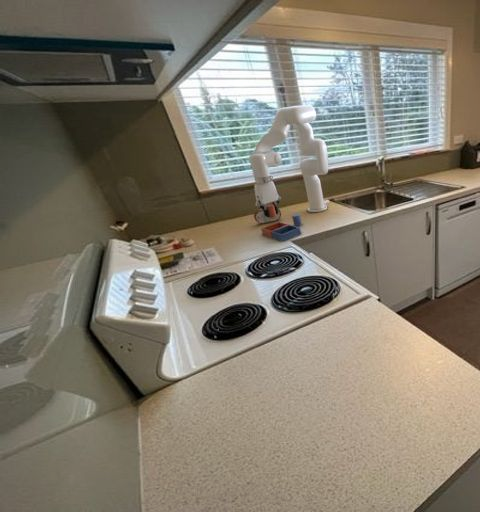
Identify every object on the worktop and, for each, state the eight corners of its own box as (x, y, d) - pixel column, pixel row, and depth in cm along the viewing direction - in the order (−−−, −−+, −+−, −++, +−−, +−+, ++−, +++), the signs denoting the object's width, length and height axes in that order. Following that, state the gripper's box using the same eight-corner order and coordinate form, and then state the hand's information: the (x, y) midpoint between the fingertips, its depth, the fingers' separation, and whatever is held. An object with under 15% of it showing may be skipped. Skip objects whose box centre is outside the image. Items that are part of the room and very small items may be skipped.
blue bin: (290, 230, 159) (289, 224, 158) (301, 233, 154) (299, 227, 153) (272, 237, 152) (270, 231, 150) (282, 241, 147) (281, 235, 145)
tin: (281, 218, 180) (278, 204, 176) (283, 219, 177) (279, 206, 174) (256, 224, 173) (252, 210, 169) (257, 225, 171) (253, 211, 167)
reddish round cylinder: (273, 214, 157) (270, 203, 154) (278, 215, 154) (275, 204, 152) (266, 217, 154) (263, 205, 151) (270, 218, 151) (268, 207, 149)
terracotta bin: (280, 227, 165) (279, 221, 163) (290, 230, 160) (289, 224, 158) (262, 234, 157) (260, 228, 156) (272, 237, 152) (270, 231, 150)
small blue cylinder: (298, 223, 169) (296, 213, 167) (303, 224, 167) (301, 214, 164) (292, 225, 166) (290, 215, 164) (297, 227, 164) (295, 216, 161)
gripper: (273, 176, 154) (281, 209, 162) (243, 183, 142) (253, 219, 150) (282, 177, 149) (289, 211, 158) (251, 184, 138) (261, 221, 146)
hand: (271, 215), depth 154 cm, fingers closed on reddish round cylinder, 4 cm apart
